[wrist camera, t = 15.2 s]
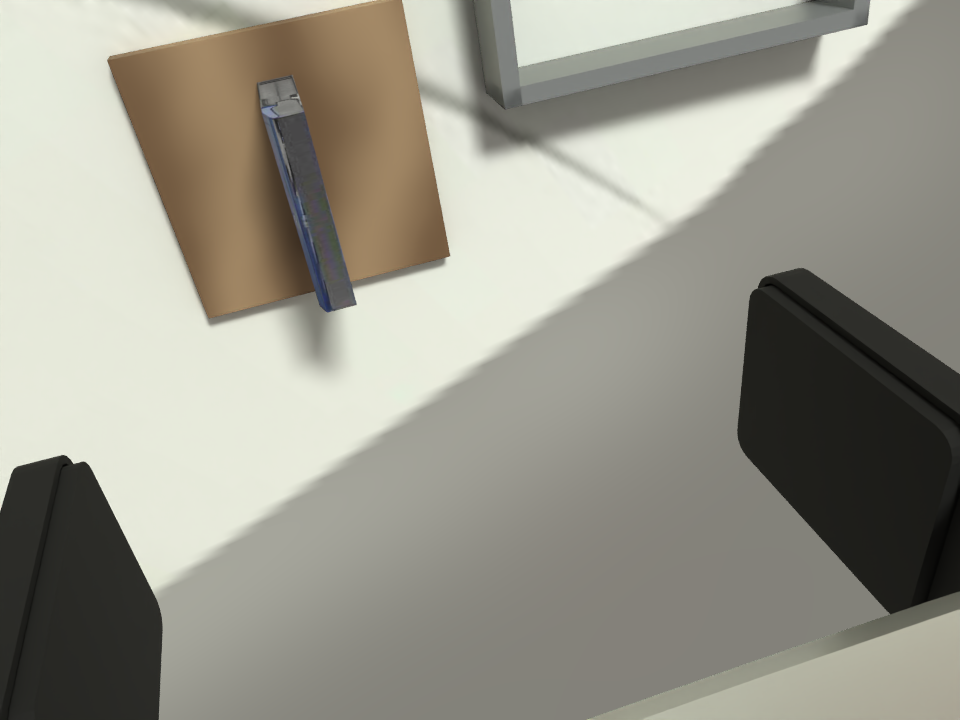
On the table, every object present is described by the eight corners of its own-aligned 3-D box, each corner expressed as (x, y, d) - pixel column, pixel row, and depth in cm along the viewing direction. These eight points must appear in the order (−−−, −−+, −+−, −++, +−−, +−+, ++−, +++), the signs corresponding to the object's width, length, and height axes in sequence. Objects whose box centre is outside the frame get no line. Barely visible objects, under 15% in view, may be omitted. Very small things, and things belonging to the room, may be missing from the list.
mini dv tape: (256, 81, 34) (262, 119, 29) (292, 74, 34) (303, 110, 29) (308, 256, 38) (321, 315, 33) (339, 249, 38) (357, 305, 34)
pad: (209, 310, 39) (208, 318, 39) (109, 56, 33) (107, 60, 32) (446, 249, 41) (450, 256, 40) (398, -4, 34) (401, -2, 34)
